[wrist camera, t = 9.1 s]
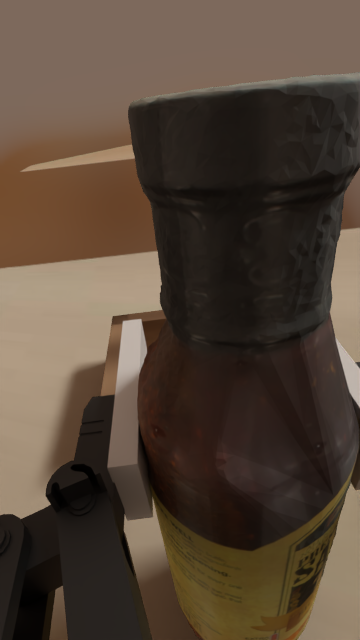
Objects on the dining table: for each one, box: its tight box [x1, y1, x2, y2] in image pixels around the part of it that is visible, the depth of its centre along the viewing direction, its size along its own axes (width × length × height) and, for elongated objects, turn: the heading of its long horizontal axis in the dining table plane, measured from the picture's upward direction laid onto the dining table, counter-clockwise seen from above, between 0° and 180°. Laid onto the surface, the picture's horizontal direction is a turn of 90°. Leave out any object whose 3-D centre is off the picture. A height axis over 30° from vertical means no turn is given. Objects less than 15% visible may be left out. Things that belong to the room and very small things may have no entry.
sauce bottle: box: [128, 72, 360, 640], centre depth 11 cm, size 7×6×20 cm
